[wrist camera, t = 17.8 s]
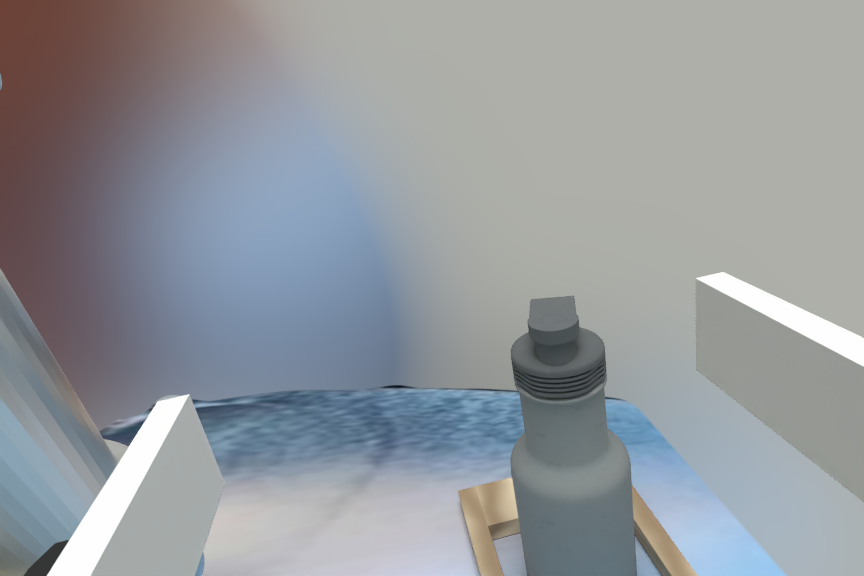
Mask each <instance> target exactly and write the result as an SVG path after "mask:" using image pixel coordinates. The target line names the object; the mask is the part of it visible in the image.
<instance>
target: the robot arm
mask: <svg viewBox="0 0 864 576" xmlns="http://www.w3.org/2000/svg"><path fill="white" fill-rule="evenodd" d="M1 87H2V79H1V75H0V89H1ZM696 370H697V371H698V372H700V373H701V374H702V375H703V376H705V377H706V378H707V379H708V380H710V381H711V382H712V383H714V384H715V385H716V386H717V387H719V388H720V389H721V390H722V391H724V392H725V393H726V394H727V395H729V396H730V397H731V398H733V399H734V400H735V401H736V402H738V403H739V404H740V405H741V406H743V407H744V408H745V409H746V410H748V411H749V412H750V413H752V414H753V415H754V416H755V417H757V418H758V419H759V420H760V421H762V422H763V423H764V424H765V425H767V426H768V427H769V428H771V429H772V430H773V431H774V432H776V433H777V434H778V435H779V436H781V437H782V438H783V439H784V440H786V441H787V442H788V443H789V444H791V445H792V446H793V447H795V448H796V449H797V450H798V451H800V452H801V453H802V454H804V455H805V456H806V457H807V458H808V459H810V460H811V461H812V462H814V463H815V464H816V465H817V466H819V467H820V468H821V469H822V470H824V471H825V472H826V473H828V474H829V475H830V476H831V477H833V478H834V479H835V480H836V481H838V482H839V483H840V484H841V485H843V486H844V487H845V488H847V489H848V490H849V491H850V492H852V493H853V494H854V495H855V496H857V497H858V498H859V499H860V500H862V501H863V502H864V338H862V337H860V336H858V335H856V334H854V333H852V332H850V331H848V330H845V329H843V328H841V327H839V326H837V325H835V324H833V323H831V322H828V321H826V320H824V319H822V318H820V317H818V316H816V315H814V314H811V313H809V312H807V311H805V310H803V309H801V308H799V307H796V306H794V305H792V304H790V303H788V302H786V301H784V300H782V299H779V298H777V297H775V296H773V295H771V294H768V293H766V292H765V291H762V290H760V289H758V288H756V287H754V286H752V285H750V284H747V283H745V282H743V281H741V280H739V279H737V278H734V277H732V276H730V275H728V274H726V273H724V272H721V273H717V274H712V275H708V276H704V277H700V278H696ZM224 485H225V482H224V480H223V477H222V475H221V472H220V470H219V467H218V465H217V462H216V460H215V457H214V455H213V452H212V450H211V447H210V445H209V442H208V440H207V437H206V435H205V432H204V430H203V427H202V425H201V422H200V420H199V417H198V415H197V412H196V410H195V407H194V405H193V402H192V400H191V397H190V395H184V396H180V397H176V398H171V399H167V400H163V401H158V402H157V403H156V405H155V407H154V408H153V410H152V411H151V413H150V414H149V416H148V418H147V419H146V421H145V422H144V424H143V425H142V427H141V429H140V430H139V432H138V433H137V435H136V436H135V438H134V440H133V441H132V443H131V444H130V446H129V447H128V446H125V445H123V444H121V443H117V442H114V441H111V440H105V439H103V438H102V436H101V434H100V433H99V431H98V429H97V428H96V426H95V425H94V423H93V421H92V419H91V418H90V416H89V414H88V413H87V411H86V409H85V408H84V406H83V405H82V403H81V401H80V400H79V398H78V396H77V395H76V393H75V391H74V390H73V388H72V386H71V385H70V383H69V381H68V380H67V378H66V376H65V375H64V373H63V371H62V370H61V368H60V367H59V365H58V363H57V362H56V360H55V358H54V357H53V355H52V353H51V352H50V350H49V349H48V347H47V345H46V343H45V342H44V340H43V338H42V337H41V335H40V333H39V332H38V330H37V329H36V327H35V325H34V324H33V322H32V321H31V319H30V317H29V315H28V314H27V312H26V310H25V309H24V307H23V305H22V304H21V302H20V301H19V299H18V297H17V296H16V294H15V292H14V291H13V289H12V287H11V286H10V284H9V282H8V281H7V279H6V277H5V276H4V274H3V272H2V271H1V269H0V576H202V573H203V570H204V553H203V550H204V547H205V544H206V541H207V537H208V534H209V531H210V528H211V525H212V522H213V519H214V516H215V513H216V510H217V507H218V504H219V501H220V498H221V495H222V492H223V489H224Z"/></svg>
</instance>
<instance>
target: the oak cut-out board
mask: <svg viewBox="0 0 864 576" xmlns="http://www.w3.org/2000/svg"><path fill="white" fill-rule="evenodd" d="M458 493H459V497H460V502H461V507H462V510H463V514H464V518H465V521H466V525H467V529H468V533H469V536H470V540H471V544H472V547H473V551H474V555H475V559H476V562H477V566H478V570H479V573H480V576H503V572H502V569H501V566H500V563H499V560H498V557H497V554H496V550H495V547H494V544H493V541H492V540H494V539H498V538H502V537H506V536H510V535H514V534H517V533H521V531H520V525H519V518H518V512H517V506H516V499H515V493H514V487H513V480H512V477H511V478H507V479H503V480H499V481H495V482H491V483H487V484H483V485H479V486H475V487H471V488H467V489H463V490H459V491H458ZM632 499H633V517H634V534H635V535H636V537H637V539H638V540H639V542H640V543H641V545H642V546H643V548H644V549H645V551H646V552H647V554H648V555H649V557H650V559H651V560H652V562H653V563H654V565H655V566H656V568H657V569H658V571H659V572H660V574H661V576H698V575H697V574H696V573H695V571H694V570H693V569H692V567H691V566H690V564H689V563H688V562H687V560H686V559H685V557H684V556H683V555H682V553H681V552H680V551H679V549H678V548H677V546H676V545H675V544H674V542H673V541H672V540H671V538H670V537H669V535H668V534H667V533H666V531H665V530H664V528H663V527H662V526H661V524H660V523H659V522H658V520H657V519H656V517H655V516H654V515H653V513H652V512H651V511H650V509H649V508H648V506H647V505H646V504H645V502H644V501H643V499H642V498H641V497H640V495H639V494H638V493H637V491H636V490H635V488H634V487H633V486H632Z"/></svg>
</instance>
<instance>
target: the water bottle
mask: <svg viewBox="0 0 864 576" xmlns="http://www.w3.org/2000/svg"><path fill="white" fill-rule="evenodd" d="M528 328H529V332H528V333H526V334H524V335H523V336H521V337H520V338H518V339H517V340H516V341H515V343H514V344H513V346H512V348H511V360H512V366H513V373H514V380H515V386H516V388H517V390H518V391H519V392H520V400H521V407H522V414H523V421H524V428H525V433H524V434H523V435H522V436H521V437H520V438H519V439H518V440H517V442H516V444H515V446H514V448H513V450H512V455H511V474H512V480H513V487H514V493H515V499H516V506H517V512H518V518H519V525H520V531H521V537H522V544H523V550H524V556H525V563H526V569H527V575H528V576H637V571H636V553H635V535H634V517H633V499H632V482H631V464H630V458H629V455H628V452H627V450H626V447H625V446H624V444H623V443H622V441H621V440H620V439H619V438H618V437H617V436H616V435H615V434H614V433H613V432H612V431H610V430H609V429H607V421H606V408H605V394H604V386H605V384H606V381H607V375H606V361H605V347H604V343H603V341H602V339H601V338H600V337H599V336H598V335H597V334H595V333H593V332H592V331H589V330H587V329H583V328H580V327H579V320H578V315H577V314H576V307H575V299H574V296H566V297H554V298H543V299H532V300H531V301H530V315H529V319H528Z"/></svg>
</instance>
